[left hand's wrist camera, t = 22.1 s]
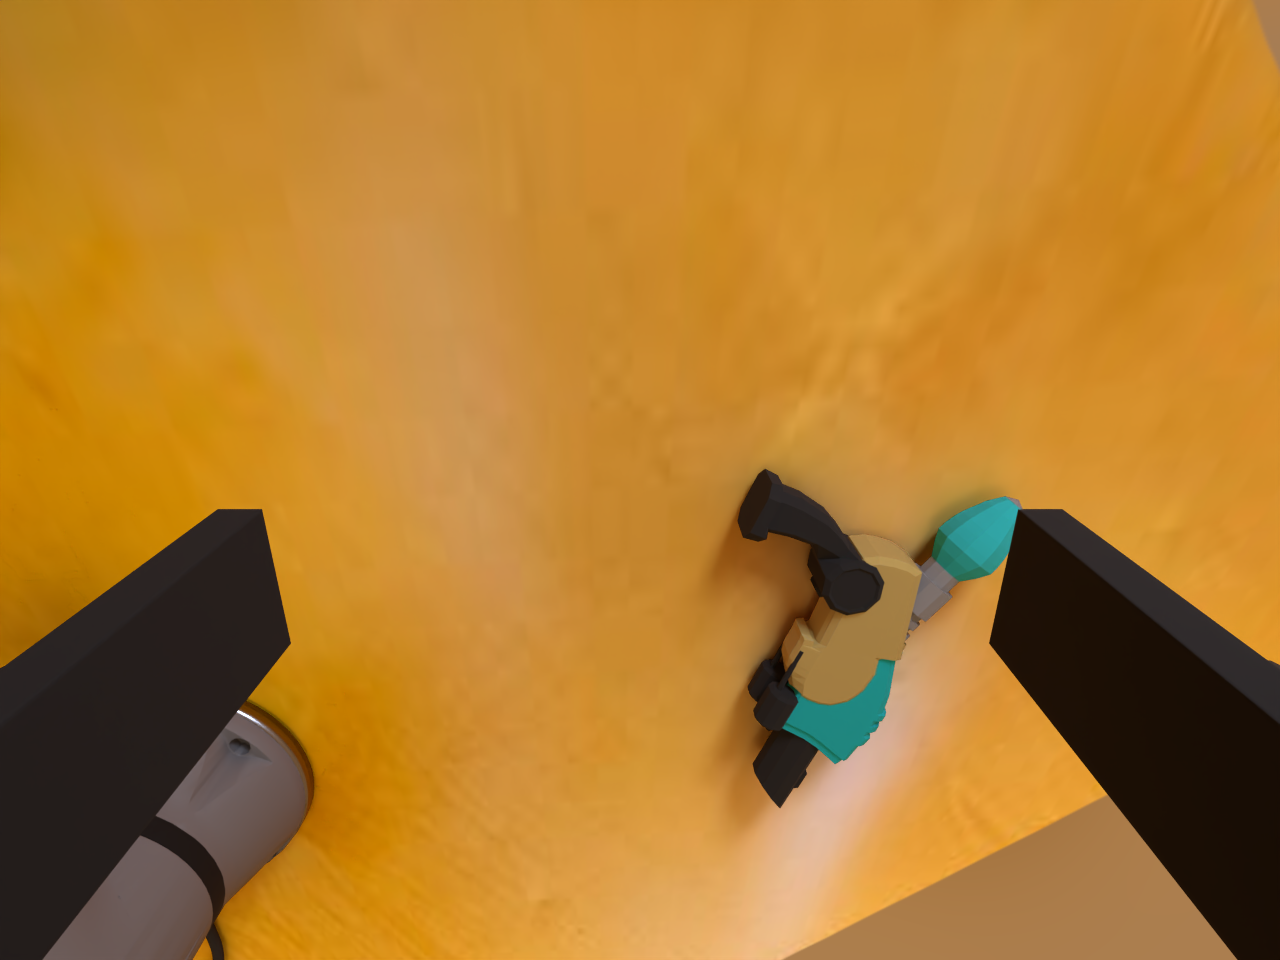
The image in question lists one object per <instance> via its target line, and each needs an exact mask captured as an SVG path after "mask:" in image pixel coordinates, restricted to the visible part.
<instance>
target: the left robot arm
mask: <svg viewBox="0 0 1280 960" xmlns="http://www.w3.org/2000/svg"><path fill="white" fill-rule="evenodd" d="M290 644H291V642H290V637H289V633H288V628H287V623H286V619H285V614H284V609H283V605H282V600H281V595H280V591H279V586H278V582H277V577H276V572H275V568H274V563H273V558H272V554H271V549H270V544H269V540H268V535H267V531H266V526H265V521H264V517H263V512H262V509H217V510H216V511H215V512H213V513H212V514H211V515H209V516H208V517H207V518H205V519H204V520H203V521H201V522H200V523H198V524H197V525H196V526H194V527H193V528H192V529H190V530H189V531H188V532H186V533H185V534H184V535H182V536H181V537H179V538H178V539H177V540H175V541H174V542H173V543H171V544H170V545H169V546H167V547H166V548H164V549H163V550H162V551H160V552H159V553H158V554H156V555H155V556H154V557H152V558H151V559H150V560H148V561H147V562H145V563H144V564H143V565H141V566H140V567H139V568H137V569H136V570H135V571H133V572H132V573H131V574H129V575H128V576H126V577H125V578H124V579H122V580H121V581H120V582H118V583H117V584H116V585H114V586H113V587H112V588H110V589H109V590H107V591H106V592H105V593H103V594H102V595H101V596H99V597H98V598H97V599H95V600H94V601H93V602H91V603H90V604H88V605H87V606H86V607H84V608H83V609H82V610H80V611H79V612H78V613H76V614H75V615H73V616H72V617H71V618H69V619H68V620H67V621H65V622H64V623H63V624H61V625H60V626H59V627H57V628H56V629H54V630H53V631H52V632H50V633H49V634H48V635H46V636H45V637H44V638H42V639H41V640H40V641H38V642H37V643H35V644H34V645H33V646H31V647H30V648H29V649H27V650H26V651H25V652H23V653H22V654H21V655H19V656H18V657H16V658H15V659H14V660H12V661H11V662H10V663H8V664H7V665H6V666H4V667H2V668H0V960H193V958H194V956H195V955H196V953H197V951H198V949H199V948H200V946H201V944H202V942H203V941H204V939H205V937H206V938H207V941H208V943H209V945H210V948H211V951H212V955H213V960H224V952H223V946H222V942H221V939H220V937H219V934H218V932H217V930H216V927H215V925H214V922H215V920H216V918H217V917H218V915H219V913H220V912H221V910H222V908H223V907H224V905H225V904H226V903H227V902H228V901H229V900H230V899H231V898H232V897H233V896H234V895H235V894H236V893H237V892H238V891H239V890H240V889H241V888H242V887H243V886H244V885H245V884H246V883H247V882H248V881H249V880H250V879H251V878H252V877H253V876H254V875H255V874H256V873H257V872H258V871H259V870H260V869H261V868H262V867H263V866H264V865H265V864H266V863H268V862H269V861H270V860H271V859H273V858H274V857H275V856H276V855H278V854H279V853H280V852H281V851H282V850H283V849H284V848H285V847H286V846H287V844H288V843H289V842H290V841H291V839H292V838H293V837H294V835H295V834H296V833H297V831H298V830H299V828H300V826H301V824H302V822H303V820H304V819H305V817H306V815H307V813H308V811H309V809H310V806H311V804H312V800H313V794H314V779H313V773H312V769H311V766H310V763H309V761H308V758H307V756H306V754H305V752H304V751H303V749H302V747H301V746H300V744H299V743H298V741H297V740H296V739H295V738H294V736H293V735H292V734H291V733H290V732H289V731H288V730H287V729H286V728H285V727H284V726H283V725H282V724H281V723H280V722H279V721H277V720H276V719H275V718H274V717H272V716H271V715H269V714H268V713H267V712H265V711H263V710H262V709H260V708H259V707H257V706H255V705H253V704H251V703H249V702H247V701H246V700H247V699H248V697H249V696H250V695H251V693H252V692H253V691H254V690H255V688H256V687H257V686H258V685H259V683H260V682H261V681H262V679H263V678H264V677H265V676H266V674H267V673H268V672H269V671H270V669H271V668H272V667H273V665H274V664H275V663H276V662H277V660H278V659H279V658H280V657H281V655H282V654H283V653H284V651H285V650H286V649H287V648H288V646H289V645H290ZM989 644H990V645H991V646H992V648H993V649H994V650H995V651H996V653H997V654H998V655H999V657H1000V658H1001V659H1002V660H1003V662H1004V663H1005V664H1006V665H1007V667H1008V668H1009V669H1010V671H1011V672H1012V673H1013V674H1014V676H1015V677H1016V678H1017V679H1018V681H1019V682H1020V683H1021V685H1022V686H1023V687H1024V688H1025V690H1026V691H1027V692H1028V693H1029V695H1030V696H1031V697H1032V699H1033V700H1034V701H1035V702H1036V704H1037V705H1038V706H1039V707H1040V709H1041V710H1042V711H1043V713H1044V714H1045V715H1046V716H1047V718H1048V719H1049V720H1050V721H1051V723H1052V724H1053V725H1054V727H1055V728H1056V729H1057V730H1058V732H1059V733H1060V734H1061V736H1062V737H1063V738H1064V739H1065V741H1066V742H1067V743H1068V744H1069V746H1070V747H1071V748H1072V750H1073V751H1074V752H1075V753H1076V755H1077V756H1078V757H1079V758H1080V760H1081V761H1082V762H1083V764H1084V765H1085V766H1086V767H1087V769H1088V770H1089V771H1090V772H1091V774H1092V775H1093V776H1094V778H1095V779H1096V780H1097V781H1098V783H1099V784H1100V785H1101V786H1102V788H1103V789H1104V790H1105V792H1106V793H1107V794H1108V795H1109V797H1110V798H1111V799H1112V800H1113V802H1114V803H1115V804H1116V806H1117V807H1118V808H1119V809H1120V811H1121V812H1122V813H1123V814H1124V816H1125V817H1126V818H1127V819H1128V821H1129V822H1130V823H1131V825H1132V826H1133V827H1134V828H1135V830H1136V831H1137V832H1138V834H1139V835H1140V836H1141V837H1142V839H1143V840H1144V841H1145V842H1146V844H1147V845H1148V846H1149V848H1150V849H1151V850H1152V851H1153V853H1154V854H1155V855H1156V857H1157V858H1158V859H1159V860H1160V862H1161V863H1162V864H1163V865H1164V867H1165V868H1166V869H1167V871H1168V872H1169V873H1170V874H1171V876H1172V877H1173V878H1174V879H1175V881H1176V882H1177V883H1178V885H1179V886H1180V887H1181V888H1182V890H1183V891H1184V892H1185V894H1186V895H1187V896H1188V897H1189V899H1190V900H1191V901H1192V902H1193V904H1194V905H1195V906H1196V908H1197V909H1198V910H1199V911H1200V912H1201V914H1202V915H1203V916H1204V918H1205V919H1206V920H1207V922H1208V923H1209V924H1210V925H1211V927H1212V928H1213V929H1214V930H1215V932H1216V933H1217V934H1218V936H1219V937H1220V938H1221V939H1222V941H1223V942H1224V943H1225V944H1226V946H1227V947H1228V948H1229V950H1230V951H1231V952H1232V953H1233V955H1234V956H1235V957H1236V958H1237V960H1280V665H1278V664H1276V663H1274V662H1272V661H1268V660H1266V659H1265V658H1264V657H1262V656H1261V655H1259V654H1258V653H1257V652H1255V651H1254V650H1253V649H1251V648H1250V647H1249V646H1247V645H1246V644H1245V643H1243V642H1242V641H1240V640H1239V639H1238V638H1236V637H1235V636H1234V635H1232V634H1231V633H1230V632H1228V631H1227V630H1226V629H1224V628H1223V627H1221V626H1220V625H1219V624H1217V623H1216V622H1215V621H1213V620H1212V619H1211V618H1209V617H1208V616H1207V615H1205V614H1204V613H1202V612H1201V611H1200V610H1198V609H1197V608H1196V607H1194V606H1193V605H1192V604H1190V603H1189V602H1187V601H1186V600H1185V599H1183V598H1182V597H1181V596H1179V595H1178V594H1177V593H1175V592H1174V591H1173V590H1171V589H1170V588H1168V587H1167V586H1166V585H1164V584H1163V583H1162V582H1160V581H1159V580H1158V579H1156V578H1155V577H1154V576H1152V575H1151V574H1149V573H1148V572H1147V571H1145V570H1144V569H1143V568H1141V567H1140V566H1139V565H1137V564H1136V563H1135V562H1133V561H1132V560H1130V559H1129V558H1128V557H1126V556H1125V555H1124V554H1122V553H1121V552H1120V551H1118V550H1117V549H1116V548H1114V547H1113V546H1111V545H1110V544H1109V543H1107V542H1106V541H1105V540H1103V539H1102V538H1101V537H1099V536H1098V535H1096V534H1095V533H1094V532H1092V531H1091V530H1090V529H1088V528H1087V527H1086V526H1084V525H1083V524H1082V523H1080V522H1079V521H1077V520H1076V519H1075V518H1073V517H1072V516H1071V515H1069V514H1068V513H1067V512H1065V511H1064V510H1063V509H1018V512H1017V517H1016V521H1015V526H1014V531H1013V535H1012V540H1011V544H1010V549H1009V554H1008V558H1007V563H1006V568H1005V572H1004V577H1003V582H1002V586H1001V591H1000V595H999V600H998V605H997V609H996V614H995V619H994V623H993V628H992V633H991V637H990V642H989Z"/></svg>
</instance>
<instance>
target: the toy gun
mask: <svg viewBox="0 0 1280 960" xmlns="http://www.w3.org/2000/svg"><path fill="white" fill-rule="evenodd" d="M1018 509H1022V507H1021V504H1020V502H1019V500H1017V499H1013V498H1009V497H1006V496H1005V497H1001V498H996V499H992V500H988V501H985V502H982V503H980V504H978V505H976V506H973V507H971V508H969V509H966V510H964V511H962V512H960V513H958V514H957V515H955V516H953V517H952V518H951V519H949V520H948V521H947V522H945V523H944V524H943V525H942V526H941V527H940V528H939V529H938V532H937V535H936V538H935V542H934V547H933V552H932V556H931V557H930V558H929V559H928V560H927V561H926V562H925V563H924V564H923V565H922V566H920V565H918V564H917V563H914V562H913V560H912V559H911V558H910V556H909V555H908V554H907V553H906V551H905V550H904V549H902V548H901V547H899V546H898V545H897V544H895V543H894V542H892V541H890V540H887V539H884V538H881V537H877V536H872V535H866V534H860V535H850V536H848V535H845V534H843V533H842V531H841V530H840V528H839V526H838V525H837V523H836V522H835V521H834V519H833V518H832V517H831V516H830V515H829V513H828V512H827V511H826V510H825V509H824V507H822V506H821V505H819V504H818V503H817V502H815V501H814V500H812V499H811V498H809V497H808V496H806V495H805V494H803V493H802V492H800V491H798V490H796V489H793V488H791V487H788V486H786V485H784V484H782V482H781V481H780V479H779V477H778V475H776V474H774V473H772V472H770V471H768V470H766V469H764V470H763V471H762V472H761V473H759V474H758V476H757V477H756V479H755V481H754V483H753V485H752V487H751V489H750V491H749V493H748V495H747V496H746V498H745V500H744V502H743V504H742V506H741V509H740V513H739V517H738V524H739V527H740V530H741V533H742V536H743V538H747V539H751V540H754V541H762V540H766V539H767V534H768V532H771V533H775V534H780V535H784V536H788V537H791V538H794V539H797V540H800V541H803V542H806V543H808V544H811V547H812V548H811V550H810V555H809V560H808V567H809V569H810V571H811V573H812V575H813V576H812V577H811V579H810V580H811V582H812V584H813V586H814V588H815V590H816V592H817V593H818V595H819V597H820V598H819V600H818V602H817V604H816V606H815V608H814V610H813V613H812V615H811V617H810V619H809V620H807V621H804V618H796V619H795V621H794V624H793V625H792V627H791V629H790V631H789V632H788V634H787V636H786V637H785V639H784V641H783V643H782V645H781V646H780V648H779V650H778V652H777V653H776V655H775V657H774V658H773V660H768V659H766V660H764V661H763V662H762V663H761V665H760V667H759V668H758V670H757V672H756V673H755V675H754V677H753V679H752V680H751V682H750V684H749V685H748V690H749V693H750V695H751V696H752V697H753V698H754V700H755V701H757V702H758V703H757V705H756V706H755V708H754V710H753V711H754V715H755V718H756V719H757V721H758V722H759V723H760V724H761V725H762V726H764V727H765V728H766V729H767V730H769V731H770V730H773V732H772V733H771V735H770V736H769V738H768V740H767V741H766V743H765V745H764V746H763V748H762V749H761V751H760V753H759V754H758V756H757V757H756V759H755V761H754V762H753V767H754V772H755V774H756V776H757V778H758V779H759V781H760V783H761V785H762V786H763V788H764V789H765V791H766V792H767V793H768V795H769V796H770V798H771V799H772V800H773V801H774V802H775V804H776V805H777V806H778V807H779V808H781V806H782V805H783V803H784V802H785V800H786V799H787V797H788V796H789V794H790V793H791V791H792V790H793V788H798V787H799V785H800V784H801V782H802V781H803V779H804V778H805V776H806V775H807V772H806V768H807V767H808V765H809V764H810V762H811V761H812V759H813V758H814V756H815V755H816V753H817V751H818V750H820V751H821V752H822V753H823V754H824V755H826V756H827V757H828V758H829V759H830V760H831V761H832V762H833V763H834V764H836V763H838V762H839V761H841V760H843V761H844V760H846V759H847V758H848V757H849V756H850V755H851V754H852V753H853V751H854V750H855V749H856V748H857V747H858V746H862V745H864V744H865V743H866V742H867V741H868V740H869V739H870V733H872V732H875V731H876V729H877V728H878V726H879V722H880V721H882V720H883V718H884V717H885V714H886V711H885V705H886V703H887V700H888V697H889V694H890V688H891V682H892V677H893V671H894V666H895V661H896V660H900V659H901V655H902V651H903V649H904V648H905V646H906V644H905V640H906V639H907V638H908V637H909V636H910V635H909V634H908V632H907V631H909V630H912V631H914V630H915V629H916V628H917V627H918V626H919V625H920V623H919V622H918V621H919V620H920V619H922V620H924V621H925V622H926V621H927V620H928V619H929V618H930V617H931V616H932V615H934V614H935V613H936V612H937V611H938V610H939V609H940V608H941V607H942V606H943V605H944V604H946V603H947V602H948V601H949V600H950V599H951V598H952V596H951V594H950V593H949V591H950V590H951V589H952V588H953V587H954V586H955V585H956V584H957V583H958V582H960V581H965V580H971V579H976V578H980V577H983V576H987V575H990V574H992V573H993V572H994V571H995V570H996V569H997V568H998V566H999V565H1000V564H1001V563H1002V561H1003V560H1004V559H1005V557H1006V556H1007V554H1008V553H1009V549H1010V544H1011V540H1012V535H1013V531H1014V526H1015V521H1016V517H1017V512H1018ZM781 656H783V662H784V665H783V664H781V663H779V662H778V661H779V659H780V658H781Z"/></svg>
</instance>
